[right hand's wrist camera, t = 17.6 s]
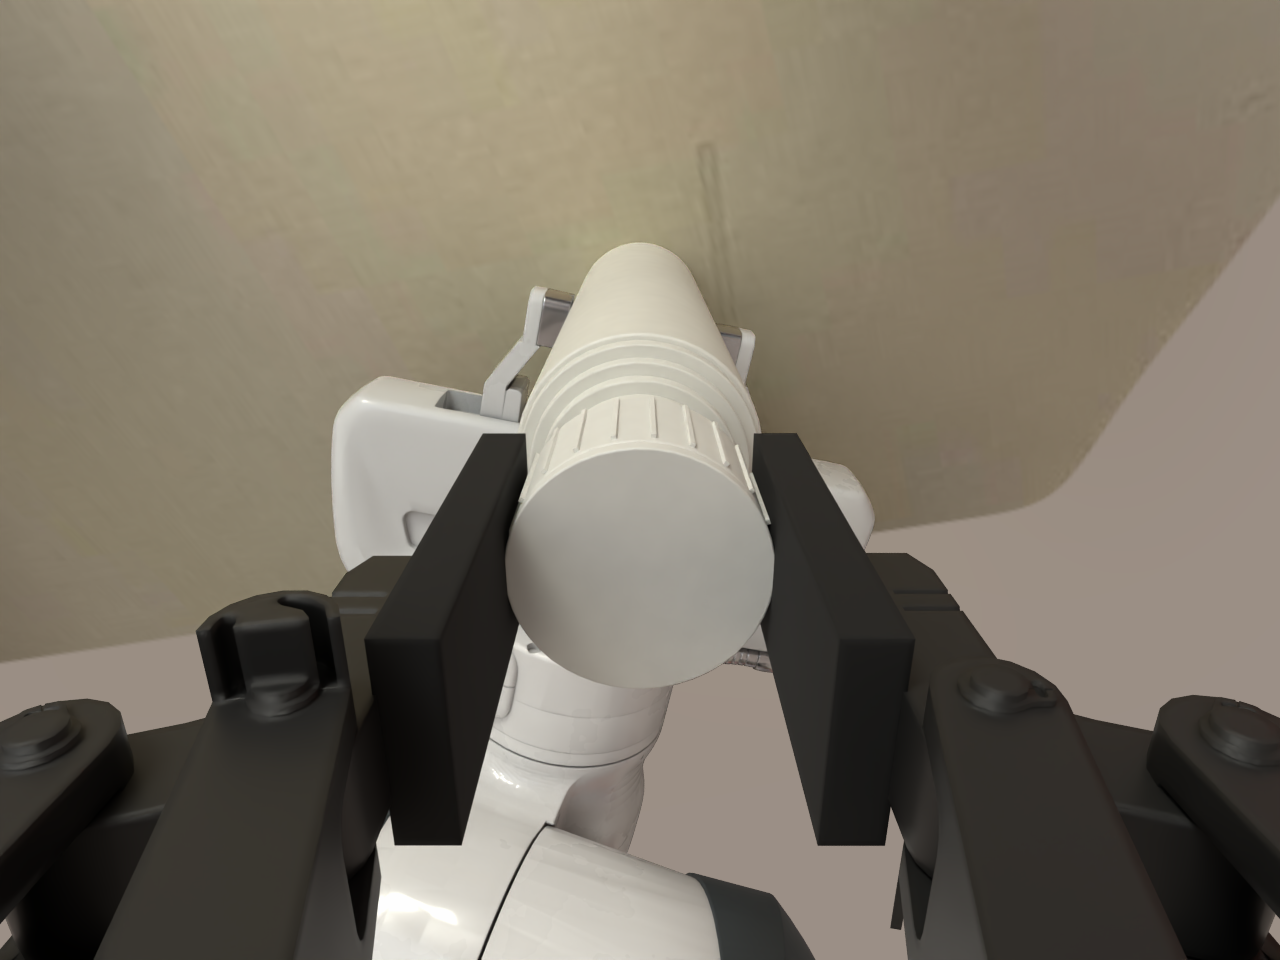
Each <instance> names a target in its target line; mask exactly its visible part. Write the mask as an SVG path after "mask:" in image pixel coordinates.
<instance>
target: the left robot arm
mask: <svg viewBox="0 0 1280 960" xmlns="http://www.w3.org/2000/svg"><path fill="white" fill-rule="evenodd" d="M573 303H574V294H571V293H567V292H563V291H558V290H554V289H548V288H545V287H539V286H534V287H533V289H532V290H531V294H530V298H529V302H528V307H527V314H526V320H525V327H524V334H523V335H522V336H521V338H520V339H519V340H518V341H517V342H516V344H515V345H514V346H513V347H512V348H511V350H510V351H509V352H508V353H507V354H506V356H505V357H504V358H503V359H502V361H501V362H500V363H499V364H498V365H497V367H496V368H495V369H494V370H493V372H492V373H491V375H490V376H489V377H488V379H487V380H486V382H485V383H484V389H483V394H479V393H474V392H468V391H463V390H458V389H453V388H448V387H443V386H438V385H433V384H427V383H422V382H417V381H412V380H407V379H402V378H397V377H392V376H381V377H378V378H376V379H374V380H373V381H371V382H370V383H368V384H367V385H365V386H364V387H362V388H361V389H359V390H358V391H357V392H355V393H354V394H353V395H352V396H351V397H350V398H349V399H348V400H347V401H346V402H345V403H344V404H343V405H342V406H341V408H340V409H339V411H338V413H337V415H336V417H335V421H334V425H333V434H332V451H331V488H332V508H333V519H334V529H335V538H336V543H337V548H338V551H339V555H340V557H341V560H342V562H343V564H344V566H345V568H346V569H347V571H348V572H349V571H350V570H352V569H353V568H355V567H356V566H358V565H359V564H361V563H363V562H364V561H366V560H367V559H369V558H370V557H372V556H412V555H413V553H414V551H415V550H416V548H417V546H418V544H419V543H420V541H421V539H422V538H423V536H424V534H425V532H426V531H427V529H428V527H429V525H430V524H431V522H432V520H433V519H434V517H435V515H436V513H437V512H438V510H439V508H440V506H441V505H442V503H443V501H444V500H445V498H446V496H447V494H448V493H449V491H450V489H451V487H452V486H453V484H454V482H455V481H456V479H457V477H458V475H459V474H460V472H461V470H462V468H463V467H464V465H465V463H466V462H467V460H468V458H469V456H470V455H471V453H472V451H473V449H474V448H475V446H476V444H477V442H478V441H479V439H480V437H481V436H482V434H483V433H518V429H519V425H520V421H521V417H522V413H523V411H524V408H525V406H526V400H527V392H528V385H529V379H528V377H527V376H522V375H517V374H518V373H519V371H520V370H521V369H522V368H523V367H524V365H525V364H526V363H527V362H528V361H529V359H530V358H531V357H532V356H533V354H534V353H535V352H536V351H537V350H538V348H539V347H540V346H546V347H551V348H553V345H554V343H555V341H556V339H557V337H558V335H559V333H560V331H561V328H562V326H563V324H564V322H565V320H566V318H567V316H568V314H569V311H570V309H571V307H572V305H573ZM715 324H716V326H717V328H718V330H719V332H720V334H721V336H722V339H723V341H724V343H725V345H726V347H727V349H728V351H729V353H730V355H731V358H732V360H733V362H734V364H735V366H736V368H737V370H738V372H739V374H740V377H741V379H742V381H743V383H744V385H745V387H746V389H747V391H748V394H749V390H748V387H747V385H746V379H747V375H748V371H749V367H750V363H751V359H752V355H753V352H754V348H755V335H754V333H753V332H752V330H748V329H743V328H738V327H733V326H728V325H723V324H717V323H715ZM516 375H517V376H516ZM749 396H750V394H749ZM750 398H751V397H750ZM812 461H813V462H814V464H815V466H816V468H817V469H818V471H819V473H820V475H821V476H822V478H823V480H824V481H825V483H826V485H827V487H828V488H829V490H830V492H831V494H832V495H833V497H834V499H835V500H836V502H837V504H838V506H839V507H840V509H841V511H842V513H843V514H844V516H845V518H846V520H847V521H848V523H849V525H850V526H851V528H852V530H853V532H854V533H855V535H856V537H857V539H858V540H859V542H860V544H861V545H862V547H863V549H864V550H865V548H866V545H867V543H868V541H869V538H870V536H871V533H872V530H873V527H874V523H875V514H874V509H873V507H872V504H871V502H870V500H869V498H868V496H867V494H866V492H865V490H864V488H863V487H862V485H861V484H860V482H859V481H858V480H857V478H856V477H855V476H854V474H853V473H852V472H851V471H850V470H849V469H848V468H847V467H845V466H844V465H841V464H837V463H832V462H827V461H822V460H817V459H812ZM724 663H725V664H735V665H736V664H738V665H744V666H749V667H753V669H755V670H759V671H764V672H771V673H773V671H772V667H771V664H770V660H769V656H768V652H767V648H766V644H765V641H764V637H763V633H762V629H761V625H759V626H758V628H757V630H756V631H755V633H754V634H753V635H752V636H751V638H750V639H749V640H748V642H747V643H746V644H745V645H744V646H743V647H742V648H741V649H740V650H739V651H738V652H737V653H736V654H735V655H734V656H732V657H731V658H730V659H728V660H727V661H726V662H724ZM724 663H723V664H724ZM672 687H673V685H671V686H666V687H661V688H649V689H630V688H621V687H613V686H608V685H604V684H600V683H596V682H593V681H591V680H588V679H585V678H583V677H580V676H578V675H576V674H574V673H572V672H570V671H568V670H566V669H564V668H563V667H561V666H560V665H558V664H557V663H555V662H554V661H552V660H551V659H550V658H549V657H548V656H546V655H545V654H544V653H543V652H542V651H541V650H540V649H539V648H538V647H537V646H536V645H535V644H534V643H533V642H532V641H531V639H530V638H529V637H528V636H527V634H526V633H525V631H524V630H523V628H522V627H521V625H520V624H519V627H518V631H517V635H516V639H515V642H514V646H513V650H512V654H511V658H510V662H509V665H508V669H507V673H506V677H505V681H504V685H503V689H502V692H501V696H500V700H499V704H498V708H497V712H496V715H495V719H494V723H493V727H492V731H491V735H490V738H489V742H488V746H487V750H486V754H485V758H484V762H483V765H482V769H481V773H480V777H479V781H478V785H477V788H476V792H475V796H474V800H473V804H472V808H471V811H470V815H469V819H468V823H467V827H466V831H465V835H464V838H463V842H462V846H395V845H394V838H393V832H392V825H391V818H390V811H388V813H387V816H386V818H385V821H384V824H383V826H382V829H381V831H380V834H379V836H378V839H377V842H376V845H377V851H378V857H379V864H380V870H381V886H380V894H379V903H378V912H377V921H376V930H375V939H374V948H373V956H372V960H815V958H814V956H813V955H812V953H811V951H810V949H809V947H808V946H807V944H806V942H805V941H804V939H803V938H802V936H801V934H800V933H799V931H798V930H797V928H796V927H795V925H794V924H793V922H792V921H791V919H790V918H789V916H788V915H787V913H786V912H785V911H784V909H783V908H782V907H781V905H780V904H779V902H778V901H777V900H776V898H775V897H774V896H773V895H772V894H770V893H766V892H763V891H759V890H755V889H751V888H748V887H744V886H740V885H736V884H733V883H729V882H725V881H721V880H718V879H714V878H710V877H706V876H702V875H699V874H695V873H687V874H683V873H679V872H677V871H674V870H671V869H669V868H666V867H663V866H660V865H658V864H655V863H652V862H649V861H647V860H644V859H641V858H638V857H636V856H633V855H630V854H627V852H628V849H629V846H630V843H631V840H632V837H633V834H634V831H635V827H636V824H637V820H638V817H639V813H640V809H641V805H642V801H643V795H644V774H643V763H644V760H645V758H646V757H647V755H648V754H649V752H650V751H651V750H652V748H653V746H654V745H655V743H656V741H657V739H658V737H659V735H660V732H661V729H662V725H663V722H664V718H665V714H666V711H667V707H668V703H669V699H670V695H671V691H672Z"/></svg>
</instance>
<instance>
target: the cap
mask: <svg viewBox="0 0 1280 960" xmlns="http://www.w3.org/2000/svg"><path fill="white" fill-rule="evenodd" d="M518 501H519V503H518V506H517V509H516V512H515V515H514V517H513V520H512V523H511V526H510V529H509V538H508V541H507V545H506V550H505V566H506V581H507V593H508V598H509V601H510V604H511V607H512V610H513V612H514V614H515V616H516V618H517V620H518V622H519V624H520V625H521V627H522V628H523V630H524V631H525V633H526V634H527V636H528V637H529V638H530V639H531V641H532V642H533V643H534V644H535V645H536V646H537V647H538V648H539V649H540V650H541V651H542V652H543V653H544V654H545V655H546V656H548V657H549V658H550V659H551V660H552V661H554V662H555V663H557V664H558V665H560V666H561V667H563V668H564V669H566V670H568V671H570V672H572V673H574V674H576V675H578V676H580V677H583V678H585V679H588V680H591V681H593V682H596V683H600V684H604V685H608V686H613V687H621V688H630V689H649V688H661V687H666V686H671V685H676V684H680V683H683V682H686V681H689V680H692V679H695V678H697V677H699V676H702V675H704V674H706V673H708V672H710V671H712V670H713V669H715V668H717V667H718V666H720V665H722V664H723V663H724V662H726V661H727V660H728V659H730V658H731V657H732V656H734V655H735V654H736V653H737V652H738V651H739V650H740V649H741V648H742V647H743V646H744V645H745V644H746V643H747V642H748V640H749V639H750V638H751V636H752V635H753V634H754V633H755V631H756V630H757V628H758V626H759V625H760V623H761V621H762V620H763V618H764V616H765V614H766V611H767V609H768V606H769V604H770V601H771V597H772V587H773V572H774V556H775V553H774V546H773V541H772V538H771V535H770V532H769V529H768V526H767V525H769V524H771V522H770V519H769V516H768V514H767V511H766V508H765V505H764V503H763V500H762V497H761V494H760V492H759V489H758V486H757V484H756V481H755V478H754V475H753V473H749V471H748V468H747V466H746V463H745V460H744V457H743V454H742V452H741V449H740V447H739V445H738V444H737V445H734V444H733V442H732V441H731V440H730V439H729V437H728V436H727V435H726V434H725V433H724V432H723V431H722V430H721V429H720V428H719V426H718V423H717V422H716V421H713V422H711V421H710V420H709V419H707V418H705V417H704V416H702V415H700V414H699V413H697V412H695V411H693V410H691V409H689V407H688V405H685V404H684V405H683V406H682V405H678V404H675V403H671V402H668V401H662V400H656V399H655V398H654V397H649V399H644V398H633V399H623V400H619V398H616V399H614V401H613V402H608V403H604V404H601V405H599V406H596V407H593V408H591V409H589V410H586V408H585V409H583V410H582V411H581V414H579V415H577V416H576V417H574V418H573V419H571V420H570V421H569V422H567V423H566V424H564V425H563V426H562V427H561V428H560V429H559V428H558V427H557V428H556V429H555V430H554V432H553V435H552V437H551V438H550V439H549V441H548V442H547V443H546V444H545V446H544V447H543V449H542V450H541V452H540V454H538V453H536V454H535V456H534V458H533V461H532V464H531V467H530V469H529V472H528V475H527V478H526V481H525V483H524V486H523V489H522V492H521V495H520V497H519V500H518Z"/></svg>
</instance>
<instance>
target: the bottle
mask: <svg viewBox="0 0 1280 960" xmlns="http://www.w3.org/2000/svg"><path fill="white" fill-rule="evenodd" d="M649 397H654V398H655V399H656V400H662V401H668V402H671V403H675V404H678V405H682V406H683V405H684V404H685V405H688V407H689V409H691V410H693V411H695V412H697V413H699V414H700V415H702V416H704V417H705V418H707V419H709V420H710V421H711V422H713V421H716V422H717V423H718V426H719V428H720V429H721V430H722V431H723V432H724V433H725V434H726V435H727V436H728V437H729V439H730V440H731V441H732V442H733V444H734V445H737V444H738V445H739V447H740V449H741V452H742V454H743V457H744V460H745V463H746V466H747V468H748V471H749V473H752V457H753V439H754V433H762V432H761V427H760V422H759V418H758V415H757V412H756V409H755V406H754V404H753V402H752V400H751V398H750V396H749V394H748V391H747V389H746V387H745V385H744V383H743V381H742V379H741V377H740V374H739V372H738V370H737V368H736V366H735V364H734V362H733V360H732V358H731V355H730V353H729V351H728V349H727V347H726V345H725V343H724V341H723V339H722V336H721V334H720V332H719V330H718V328H717V326H716V324H715V322H714V319H713V317H712V315H711V313H710V311H709V309H708V307H707V305H706V303H705V300H704V298H703V296H702V294H701V292H700V290H699V288H698V286H697V284H696V281H695V279H694V277H693V275H692V273H691V271H690V270H689V269H688V267H687V266H686V264H685V263H684V262H683V261H682V260H681V259H680V258H679V257H678V256H676V255H675V254H674V253H672V252H671V251H669V250H667V249H665V248H663V247H661V246H658V245H655V244H650V243H638V242H637V243H629V244H625V245H621V246H618V247H616V248H614V249H612V250H610V251H608V252H607V253H605V254H604V255H603V256H601V257H600V258H599V259H598V260H597V261H596V262H595V263H594V265H593V266H592V267H591V269H590V270H589V272H588V274H587V275H586V277H585V280H584V282H583V284H582V286H581V288H580V290H579V292H578V294H577V297H576V299H575V301H574V303H573V305H572V307H571V309H570V311H569V314H568V316H567V318H566V320H565V322H564V324H563V326H562V328H561V331H560V333H559V335H558V337H557V339H556V341H555V343H554V345H553V348H552V350H551V352H550V354H549V356H548V358H547V360H546V363H545V365H544V367H543V369H542V371H541V373H540V375H539V377H538V380H537V382H536V384H535V386H534V388H533V390H532V392H531V394H530V397H529V399H528V401H527V403H526V406H525V408H524V411H523V413H522V417H521V421H520V425H519V429H518V433H526V449H527V467H528V472H529V469H530V467H531V464H532V461H533V458H534V456H535V454H536V453H538V454H540V452H541V450H542V449H543V447H544V446H545V444H546V443H547V442H548V441H549V439H550V438H551V437H552V435H553V432H554V430H555V429H556V428H557V427H558V428H559V429H560V428H561V427H562V426H563V425H564V424H566V423H567V422H569V421H570V420H571V419H573V418H574V417H576V416H577V415H579V414H581V411H582V410H583V409H585V408H586V410H589V409H591V408H593V407H596V406H599V405H601V404H604V403H608V402H613V401H614V399H616V398H619V400H623V399H633V398H644V399H649Z"/></svg>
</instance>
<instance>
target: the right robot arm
mask: <svg viewBox="0 0 1280 960" xmlns="http://www.w3.org/2000/svg"><path fill="white" fill-rule="evenodd" d="M752 473H753V475H754V478H755V481H756V484H757V486H758V489H759V492H760V494H761V497H762V500H763V503H764V505H765V508H766V511H767V514H768V516H769V519H770V522H771V524H769V525H767V526H768V529H769V532H770V535H771V538H772V541H773V546H774V553H775V556H774V572H773V587H772V597H771V601H770V604H769V606H768V609H767V611H766V614H765V616H764V618H763V620H762V621H761V623H760V625H761V629H762V633H763V637H764V641H765V644H766V648H767V652H768V656H769V660H770V664H771V667H772V671H773V675H774V679H775V683H776V687H777V690H778V694H779V698H780V702H781V706H782V710H783V713H784V717H785V721H786V725H787V729H788V733H789V736H790V740H791V744H792V748H793V752H794V756H795V760H796V763H797V767H798V771H799V775H800V779H801V783H802V787H803V790H804V794H805V798H806V802H807V806H808V810H809V813H810V817H811V821H812V825H813V829H814V833H815V837H816V840H817V844H818V846H885V841H886V835H887V828H888V821H889V815H890V808H892V810H893V813H894V816H895V818H896V821H897V823H898V826H899V829H900V831H901V834H902V836H903V839H904V845H903V851H902V857H901V863H900V870H899V876H898V882H897V889H896V895H895V901H894V907H893V914H892V921H891V928H893V929H899V930H901V927H902V922H903V919H904V928H905V937H906V946H907V955H908V960H1280V945H1279V944H1278V943H1277V941H1276V940H1275V939H1274V938H1273V937H1272V936H1271V934H1270V933H1269V929H1270V927H1271V924H1272V922H1273V919H1274V917H1275V914H1276V915H1277V916H1278V917H1279V918H1280V718H1279V717H1276V716H1274V715H1272V714H1269V713H1267V712H1265V711H1263V710H1261V709H1259V708H1258V707H1256V706H1253V705H1250V704H1247V703H1244V702H1241V701H1239V702H1236V701H1235V700H1232V699H1227V698H1222V697H1210V696H1199V695H1190V696H1184V697H1179V698H1173V699H1171V700H1170V701H1168V702H1167V703H1166V704H1165V705H1163V706H1162V707H1161V708H1160V710H1159V714H1158V717H1157V720H1156V724H1155V727H1154V731H1149V730H1144V729H1139V728H1134V727H1129V726H1124V725H1118V724H1113V723H1108V722H1104V721H1098V720H1094V719H1090V718H1086V717H1082V716H1078V715H1075V714H1073V712H1072V710H1071V707H1070V705H1069V703H1068V701H1067V700H1066V698H1065V697H1064V696H1063V695H1062V693H1061V692H1060V691H1059V690H1058V688H1057V687H1056V686H1055V685H1054V684H1052V683H1051V682H1050V681H1048V680H1047V679H1045V678H1044V677H1042V676H1041V675H1039V674H1038V673H1036V672H1035V671H1032V670H1030V669H1027V668H1025V667H1022V666H1020V665H1018V664H1015V663H1013V662H1010V661H1005V660H1000V659H997V658H996V657H995V655H994V654H993V652H992V651H991V650H990V648H989V647H988V645H987V644H986V643H985V641H984V640H983V638H982V637H981V636H980V634H979V633H978V631H977V630H976V629H975V627H974V626H973V625H972V623H971V622H970V620H969V619H968V618H967V616H966V615H965V613H964V612H963V611H960V607H959V605H958V604H957V602H956V601H955V600H954V598H953V597H952V595H951V594H948V590H947V588H946V587H945V586H944V584H943V583H942V582H941V580H940V579H939V577H938V576H937V575H936V573H935V572H934V570H932V569H931V568H929V567H928V566H926V565H925V564H923V563H921V562H920V561H918V560H917V559H915V558H913V557H912V556H910V555H909V554H907V553H866V552H865V551H864V549H863V547H862V545H861V544H860V542H859V540H858V539H857V537H856V535H855V533H854V532H853V530H852V528H851V526H850V525H849V523H848V521H847V520H846V518H845V516H844V514H843V513H842V511H841V509H840V507H839V506H838V504H837V502H836V500H835V499H834V497H833V495H832V494H831V492H830V490H829V488H828V487H827V485H826V483H825V481H824V480H823V478H822V476H821V475H820V473H819V471H818V469H817V468H816V466H815V464H814V462H813V461H812V459H811V457H810V456H809V454H808V452H807V450H806V449H805V447H804V445H803V443H802V442H801V440H800V438H799V437H798V435H797V433H754V439H753V457H752ZM527 475H528V467H527V449H526V433H483V434H482V436H481V437H480V439H479V441H478V442H477V444H476V446H475V448H474V449H473V451H472V453H471V455H470V456H469V458H468V460H467V462H466V463H465V465H464V467H463V468H462V470H461V472H460V474H459V475H458V477H457V479H456V481H455V482H454V484H453V486H452V487H451V489H450V491H449V493H448V494H447V496H446V498H445V500H444V501H443V503H442V505H441V506H440V508H439V510H438V512H437V513H436V515H435V517H434V519H433V520H432V522H431V524H430V525H429V527H428V529H427V531H426V532H425V534H424V536H423V538H422V539H421V541H420V543H419V544H418V546H417V548H416V550H415V551H414V553H413V555H412V556H372V557H370V558H369V559H367V560H366V561H364V562H363V563H361V564H359V565H358V566H356V567H355V568H353V569H352V570H350V571H349V572H347V573H346V574H345V576H344V577H343V578H342V580H341V581H340V583H339V584H338V585H337V587H336V588H335V590H334V591H333V592H332V597H328V596H327V595H324V594H319V593H315V592H311V591H278V592H273V593H267V594H262V595H256V596H253V597H250V598H247V599H245V600H242V601H239V602H236V603H233V604H230V605H229V606H227V607H225V608H223V609H222V610H220V611H218V612H217V613H215V614H213V615H211V616H210V617H208V618H207V620H206V621H205V622H204V623H203V624H202V625H201V626H200V627H199V628H198V629H197V630H196V634H197V638H198V643H199V647H200V651H201V655H202V659H203V664H204V668H205V672H206V676H207V680H208V684H209V689H210V693H211V697H212V701H213V702H212V705H211V707H210V709H209V711H208V713H207V715H206V718H203V719H199V720H196V721H192V722H188V723H184V724H179V725H174V726H169V727H164V728H159V729H154V730H149V731H144V732H139V733H134V734H129V735H127V733H126V730H125V726H124V723H123V719H122V716H121V713H120V711H119V710H117V709H116V708H115V707H114V706H112V705H111V704H110V703H109V702H104V701H98V700H92V699H79V700H68V701H57V702H52V703H47V704H45V705H44V706H41V705H39V706H36V707H33V708H30V709H27V710H24V711H22V712H21V713H20V714H17V715H15V716H13V717H11V718H9V719H6V720H4V721H2V722H0V924H1V922H2V921H3V920H4V919H6V921H7V924H8V926H9V929H10V931H11V933H12V936H11V937H10V938H9V940H8V941H7V942H6V943H5V944H4V945H3V947H2V948H1V949H0V960H372V956H373V948H374V939H375V930H376V921H377V912H378V903H379V894H380V886H381V870H380V864H379V857H378V851H377V845H376V842H377V839H378V836H379V834H380V831H381V829H382V826H383V824H384V821H385V818H386V816H387V813H388V811H390V818H391V825H392V832H393V838H394V845H395V846H462V842H463V838H464V835H465V831H466V827H467V823H468V819H469V815H470V811H471V808H472V804H473V800H474V796H475V792H476V788H477V785H478V781H479V777H480V773H481V769H482V765H483V762H484V758H485V754H486V750H487V746H488V742H489V738H490V735H491V731H492V727H493V723H494V719H495V715H496V712H497V708H498V704H499V700H500V696H501V692H502V689H503V685H504V681H505V677H506V673H507V669H508V665H509V662H510V658H511V654H512V650H513V646H514V642H515V639H516V635H517V631H518V627H519V622H518V620H517V618H516V616H515V614H514V612H513V610H512V607H511V604H510V601H509V598H508V593H507V581H506V566H505V550H506V545H507V541H508V538H509V529H510V526H511V523H512V520H513V517H514V515H515V512H516V509H517V506H518V503H519V501H518V500H519V497H520V495H521V492H522V489H523V486H524V483H525V481H526V478H527Z"/></svg>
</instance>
